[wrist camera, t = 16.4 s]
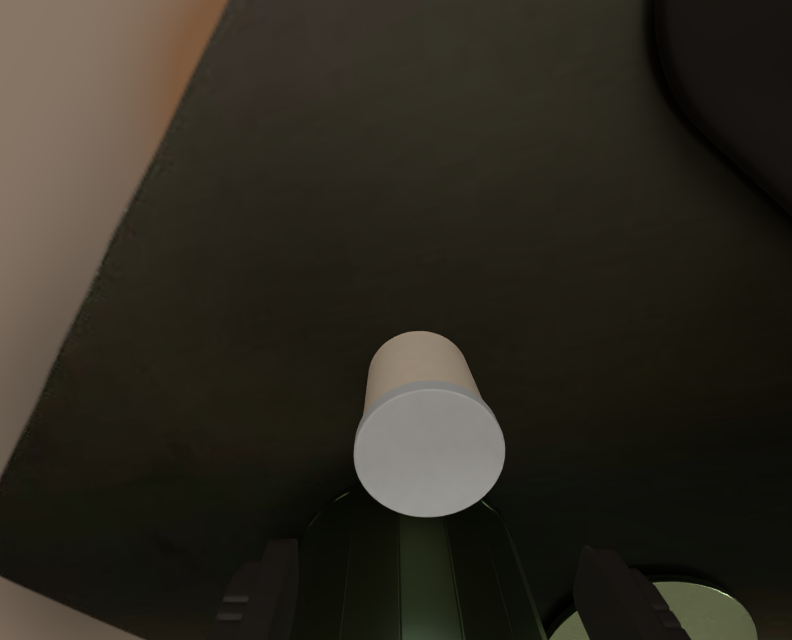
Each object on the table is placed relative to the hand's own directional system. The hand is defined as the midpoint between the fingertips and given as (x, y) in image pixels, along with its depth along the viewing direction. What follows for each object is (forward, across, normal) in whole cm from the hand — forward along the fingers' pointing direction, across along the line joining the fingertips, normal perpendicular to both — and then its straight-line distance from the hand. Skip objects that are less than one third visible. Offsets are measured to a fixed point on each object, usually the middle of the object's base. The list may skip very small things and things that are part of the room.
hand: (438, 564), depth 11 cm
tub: (+11, 0, 0) cm, 11 cm away
